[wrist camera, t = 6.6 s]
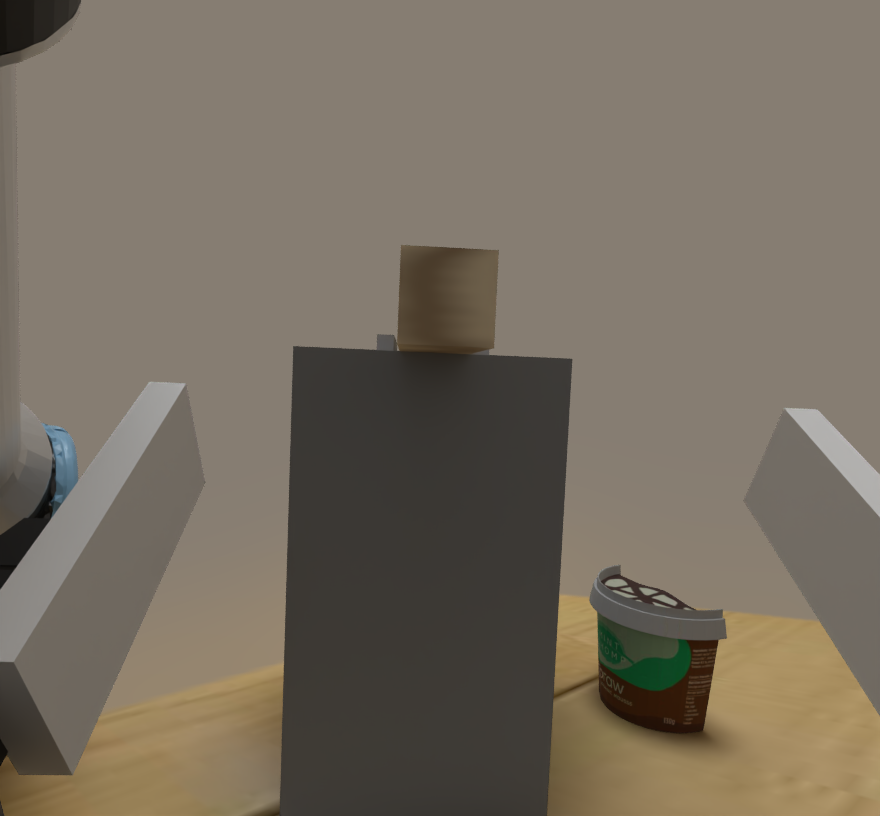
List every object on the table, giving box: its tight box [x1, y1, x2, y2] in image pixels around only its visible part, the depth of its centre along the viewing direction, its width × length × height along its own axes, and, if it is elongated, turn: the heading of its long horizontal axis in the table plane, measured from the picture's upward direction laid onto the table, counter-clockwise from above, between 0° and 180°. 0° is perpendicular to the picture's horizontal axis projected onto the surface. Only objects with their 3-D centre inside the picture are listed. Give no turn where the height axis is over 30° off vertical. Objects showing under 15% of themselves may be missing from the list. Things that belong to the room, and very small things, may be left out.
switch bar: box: [397, 245, 499, 354], centre depth 38 cm, size 4×26×4 cm, turn 3°
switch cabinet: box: [280, 334, 572, 816], centre depth 46 cm, size 16×19×29 cm
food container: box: [590, 565, 727, 733], centre depth 51 cm, size 12×6×10 cm, turn 25°
